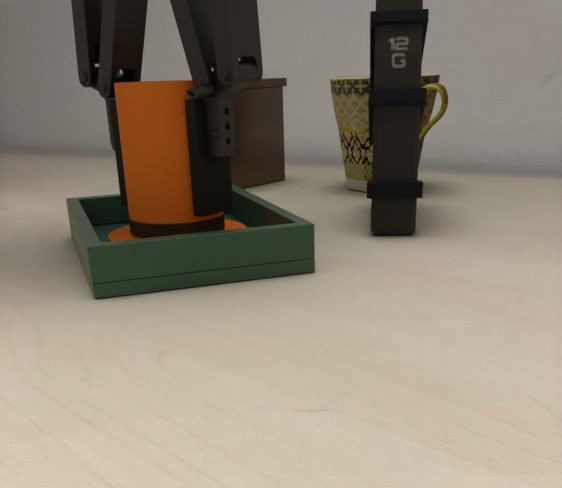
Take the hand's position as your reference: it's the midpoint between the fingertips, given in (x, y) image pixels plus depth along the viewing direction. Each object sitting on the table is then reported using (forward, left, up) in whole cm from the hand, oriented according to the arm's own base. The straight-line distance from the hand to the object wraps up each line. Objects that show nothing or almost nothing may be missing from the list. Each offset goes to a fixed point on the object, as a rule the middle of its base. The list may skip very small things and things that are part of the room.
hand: (175, 206), depth 45 cm
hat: (0, 0, -2) cm, 2 cm away
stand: (-19, +24, -3) cm, 31 cm away
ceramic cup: (-1, +29, -3) cm, 29 cm away
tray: (0, 0, -3) cm, 3 cm away
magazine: (+6, +17, -3) cm, 18 cm away
